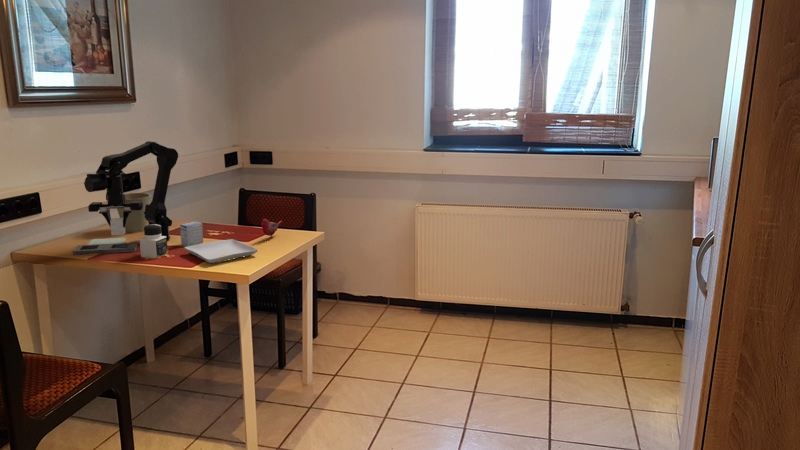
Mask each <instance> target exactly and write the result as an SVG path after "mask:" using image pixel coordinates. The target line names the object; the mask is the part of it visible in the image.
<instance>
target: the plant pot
mask: <svg viewBox="0 0 800 450" xmlns="http://www.w3.org/2000/svg"><path fill="white" fill-rule="evenodd" d="M123 194H124V195H125V198H126V203H131V201H142V203H143V208H142V209H141V210H133V211H132V212H131V213H129V215H128V219H127V222H126V226H125V231H126V233H140V232H144V227H145V226H147V223H148V221H147V220H146V218H145V214H144V212H145V206H146V204H148V205H149V204H150V203H151V193H146V192H129V193H123ZM124 204H125V203H124ZM116 210H117V213H118V216H119V218H123V211H124V210H125V209H124V208H116Z"/></svg>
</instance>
